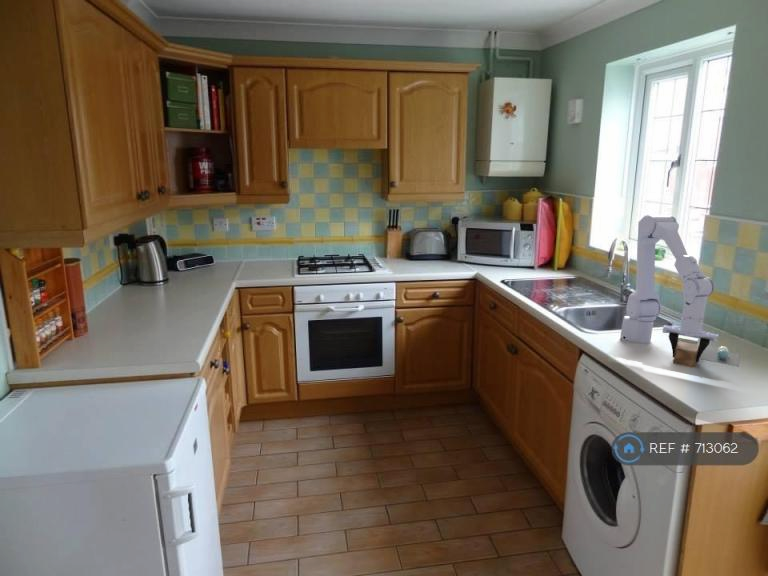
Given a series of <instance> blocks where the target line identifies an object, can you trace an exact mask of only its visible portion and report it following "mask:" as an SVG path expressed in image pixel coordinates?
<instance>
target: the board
mask: <svg viewBox="0 0 768 576" xmlns="http://www.w3.org/2000/svg"><path fill="white" fill-rule="evenodd" d="M717 352H718V349H717V350H715V349H712V348H711V349H710V348H707V347H706V348H705V350H704V351H703V353H702V354H701V356H700V358H699V359H700V360H705V361H709V362H715V363H719V364H724V365H730V366H733V367H740V354H739V353H733V352H729V353H728V357H727V358H726V359H720V358H719V357H718V356H717Z"/></svg>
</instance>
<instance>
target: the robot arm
mask: <svg viewBox="0 0 768 576" xmlns="http://www.w3.org/2000/svg"><path fill="white" fill-rule="evenodd" d="M637 223H638V225H637V227H638V228H637V240H636V241H637V242H636V243H637V245H636V247H637V248H636V276H635V277H636V280H635V281H636V283H635V290H634V291H633V292H632V293H630V294H629V296H628V298H627V299H628V300H627V304H626V306H625V307H626V313H627V315H624V316H623V319H622V323H621V330H620V336H619V337H620V339H621V340H626V341H630V342H634V343H639V344H650V343H651V340H652V334H653V328H654V323H655V320H657V317H659V316H660V315H661V312H662V305H661V301H660V298H661V297H660V295H659V294H658V293H657V292H656V291H655V272H656V271H655V270H656V269H655V267H656V266H655V265H656V263H655V262H656V244H657V243H658V242H659V241H661V240H662V241H664V243H665V244H666V245H667V247H668V249H669V251H670V252H671V254H672V256H673V257H674V259H675V262H674V267H675V269H676V271H677V273H678V275H679V277H680V279H681V281H682V283H683V284H682V285H681V290H682V293H683V297H682V299H683V308H682V315H681V318H680V325H679V326H675V325H674V326H673V325H666V324H665V325H663V328H662V333H663V334H668V340H669V343H670V345H671V350H672V358H673V359H674V355H675V349H676V346H677V342H678V337H679V335H682V336H688V337H694V338H699V342H698V345H699V349H698V353H697V357H696V363H699V361H700V360H699V358H700V356H701V354H702V353H703V351H704V350H705V348H706V349H707V347H708V346H709V345H710V342H711V341H712V342H713V343H717V342H718V339H719V338H718V337H719V334H718V333H717V334H716V333H712V332H708V331H704V330H702V329H703V324H704V319H705V313H706V307H707V301H708V297H709V296H711V295H712V294H713V293H714V290H715V285H714V281H713V280H712V279H711V278H710V277H708V276H707V275H706V274H704V273H703V272H702V270H701V268H700V266H699V264H698V261H697V259H696V257H694V256H692V255H689V254H688V252H687V249H686V248H685V245H684V243H683V241H682V238H681V235H680V233H679V227H680V225H679V222H678V221H677V218H676V217H675V216H674V215H671V214H666V215H652V214H651V215H650V214H646V215H644V216H643V217H642V218H641V219H640V220H639V221H638V222H637ZM624 337H625V338H624Z"/></svg>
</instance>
